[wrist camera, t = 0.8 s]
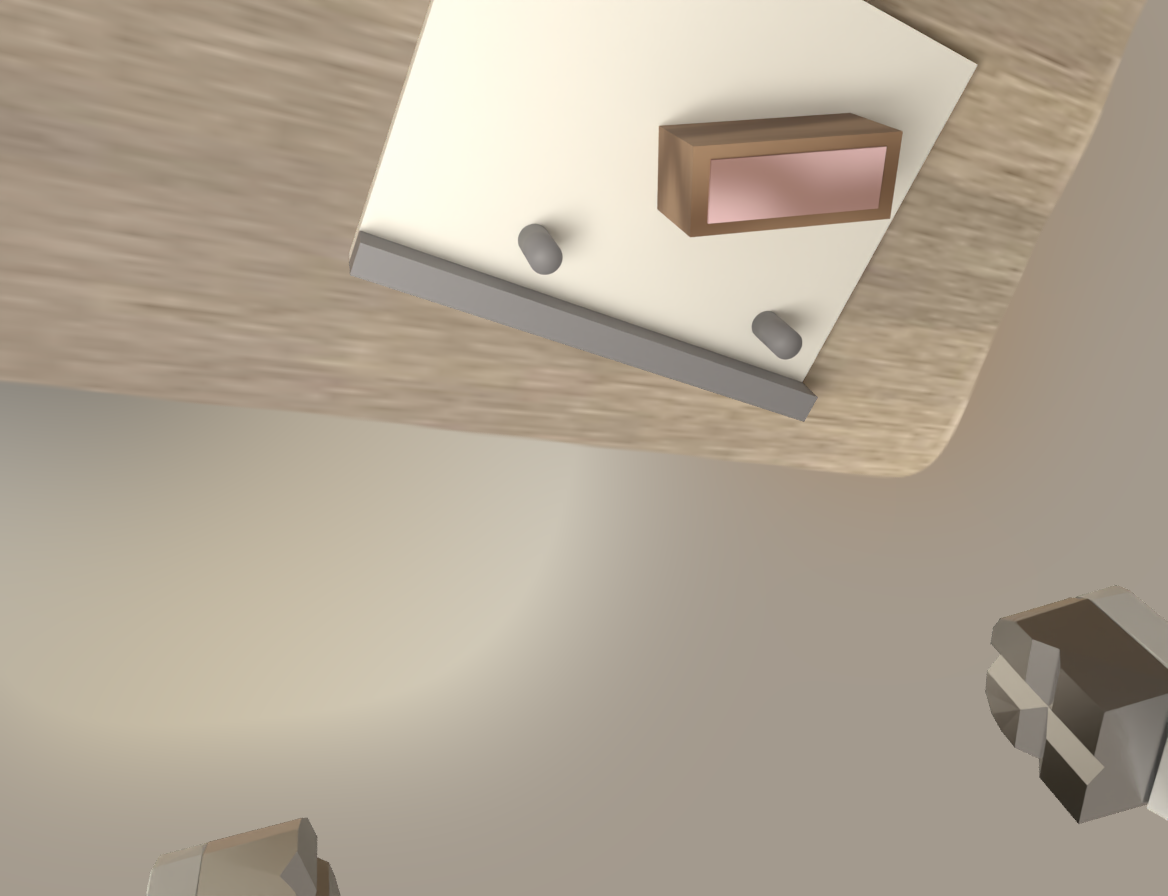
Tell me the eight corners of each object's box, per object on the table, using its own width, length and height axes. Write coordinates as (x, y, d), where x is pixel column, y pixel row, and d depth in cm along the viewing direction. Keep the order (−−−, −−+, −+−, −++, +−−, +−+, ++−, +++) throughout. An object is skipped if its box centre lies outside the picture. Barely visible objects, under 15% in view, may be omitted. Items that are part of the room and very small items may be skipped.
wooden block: (658, 125, 44) (694, 147, 39) (850, 112, 46) (904, 131, 41) (657, 209, 46) (691, 238, 41) (840, 193, 48) (891, 219, 43)
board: (495, -200, 37) (512, -214, 33) (963, 61, 47) (1015, 72, 43) (348, 254, 44) (350, 282, 41) (780, 397, 54) (811, 429, 51)
